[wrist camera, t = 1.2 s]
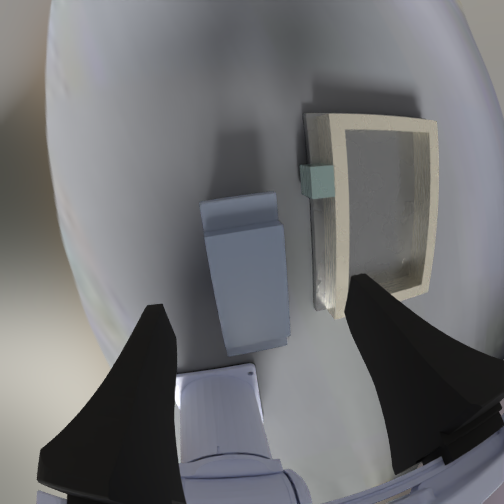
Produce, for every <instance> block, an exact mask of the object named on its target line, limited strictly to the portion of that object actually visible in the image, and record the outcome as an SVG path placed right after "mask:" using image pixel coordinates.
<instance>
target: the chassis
mask: <svg viewBox="0 0 504 504" xmlns="http://www.w3.org/2000/svg"><path fill="white" fill-rule="evenodd" d="M303 121H304V130H305V141H306V151H307V163H308V164H304V165H300V177H301V190H302V194H303V195H305V196H307V197H309V198H310V205H311V223H312V245H313V278H314V308H315V310H316V311H320V310H324V309H327V310H328V311H329V313H330V314H331V315H332V317H333V318H334V319H335V320H336V319H340V318H344V317H346V316H345V313H344V310H345V305H346V300H347V295H348V290H349V285H350V279H351V276H353V275H358V274H364V273H365V274H367V275H368V276H369V277H370V278H372V279H373V280H374V281H375V282H377V283H378V284H379V285H380V286H381V287H383V288H384V289H385V290H386V291H388V292H389V293H390V294H391V295H392V296H394V297H395V298H396V299H397V300H399V301H402V300H406V299H409V298H412V297H415V296H418V295H421V294H424V293H427V292H428V288H429V283H430V277H431V270H432V263H433V256H434V247H435V238H436V227H437V214H438V194H439V151H438V131H437V121H433V120H426V119H423V118H414V117H405V116H394V115H380V114H361V113H305V114H303Z"/></svg>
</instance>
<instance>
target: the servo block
mask: <svg viewBox="0 0 504 504" xmlns="http://www.w3.org/2000/svg"><path fill="white" fill-rule="evenodd" d="M199 205H200V212H201V218H202V224H203V230H204V240H205V245H206V251H207V257H208V262H209V268H210V273H211V279H212V284H213V289H214V294H215V299H216V304H217V309H218V314H219V319H220V324H221V329H222V334H223V339H224V343H225V348H226V350H227V355H228V357H229V356H235V355H241V354H246V353H251V352H257V351H262V350H267V349H271V348H276V347H281V346H285V345H287V337H288V336H290V317H289V299H288V283H287V268H286V254H285V240H284V228H283V224H282V223H281V222H280V221H279V220H278V209H277V198H276V193H275V192H274V191H269V192H261V193H254V194H247V195H240V196H233V197H226V198H220V199H213V200H207V201H201V202H199Z"/></svg>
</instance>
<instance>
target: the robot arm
mask: <svg viewBox="0 0 504 504" xmlns="http://www.w3.org/2000/svg"><path fill="white" fill-rule="evenodd" d="M344 313H345V316H346V320H347V323H348V326H349V329H350V332H351V334H352V336H353V339H354V341H355V343H356V345H357V347H358V349H359V351H360V354H361V356H362V358H363V360H364V362H365V364H366V366H367V369H368V371H369V373H370V375H371V377H372V380H373V382H374V385H375V388H376V391H377V394H378V398H379V401H380V404H381V408H382V412H383V416H384V420H385V424H386V429H387V433H388V438H389V444H390V451H391V458H392V467H393V470H394V473H395V475H397V474H400V473H402V472H404V471H406V470H408V469H411V468H413V467H415V466H417V465H419V464H421V463H423V466H422V467H420V468H418V469H416V470H414V471H411V472H409V473H407V474H405V475H403V476H401V477H398V478H396V479H394V480H391V481H389V482H386V483H384V484H381V485H379V486H376V487H373V488H371V489H368V490H365V491H362V492H359V493H356V494H353V495H350V496H347V497H344V498H340V499H337V500H333V501H330V502H326V503H322V504H374V503H377V502H380V501H382V500H385V499H387V498H390V497H392V496H394V495H396V494H399V493H401V492H403V491H405V490H408V489H410V488H412V487H413V488H412V489H411V492H410V494H408V495H404V496H402V497H399V498H397V499H394V500H392V501H389V502H387V503H385V504H482V503H483V502H484V501H485V500H486V499H487V498H488V497H489V496H490V495H491V494H492V493H493V492H494V491H495V490H496V489H497V488H498V487H499V486H500V485H501V484H502V483H503V482H504V414H503V415H500V413H499V411H500V410H501V409H502V406H501V404H500V401H501V400H502V399H503V398H504V360H501V359H498V358H495V357H492V356H489V355H487V354H484V353H482V352H479V351H477V350H475V349H473V348H471V347H468V346H466V345H465V344H463V343H461V342H459V341H457V340H455V339H453V338H451V337H450V336H448V335H446V334H445V333H443V332H442V331H440V330H438V329H437V328H435V327H434V326H432V325H431V324H429V323H428V322H426V321H425V320H423V319H422V318H421V317H419V316H418V315H417V314H415V313H414V312H413V311H411V310H410V309H409V308H407V307H406V306H405V305H404V304H402V303H401V302H400V301H399V300H397V299H396V298H395V297H394V296H392V295H391V294H390V293H389V292H388V291H386V290H385V289H384V288H383V287H381V286H380V285H379V284H378V283H377V282H375V281H374V280H373V279H372V278H370V277H369V276H368V275H367V274H365V273H364V274H358V275H353V276H351V279H350V285H349V290H348V295H347V300H346V305H345V310H344ZM248 372H251V373H248ZM176 373H177V342H176V336H175V334H174V331H173V329H172V326H171V324H170V322H169V319H168V317H167V314H166V312H165V309H164V307H163V304H155V305H147V306H146V308H145V310H144V311H143V313H142V315H141V317H140V319H139V321H138V323H137V325H136V327H135V328H134V330H133V332H132V334H131V336H130V338H129V340H128V341H127V343H126V345H125V347H124V348H123V350H122V352H121V354H120V355H119V357H118V359H117V360H116V362H115V364H114V365H113V367H112V369H111V370H110V372H109V374H108V375H107V377H106V378H105V379H104V381H103V383H102V384H101V385H100V387H99V388H98V389H97V391H96V392H95V393H94V395H93V396H92V397H91V399H90V400H89V401H88V402H87V404H86V405H85V406H84V407H83V409H82V410H81V411H80V412H79V413H78V414H77V416H76V417H75V418H74V419H73V420H72V421H71V422H70V423H69V424H68V425H67V426H66V427H65V428H64V429H63V430H62V431H61V432H60V433H59V434H58V435H57V436H56V437H55V438H53V439H52V440H51V441H50V442H49V443H48V444H47V445H45V446H44V447H43V448H42V449H41V450H40V457H39V463H38V472H37V480H38V482H39V483H41V484H43V485H45V486H48V487H50V488H52V489H55V490H58V491H60V492H63V493H66V494H67V499H64V498H60V497H57V496H54V495H51V494H48V493H45V492H42V491H39V490H38V491H37V504H312V499H311V495H310V492H309V489H308V487H307V485H306V483H305V481H304V480H303V479H302V477H301V476H299V475H298V474H297V473H296V472H294V471H293V470H291V469H285V470H283V468H282V465H281V461H280V459H272V455H271V452H270V448H269V444H268V441H267V437H266V433H265V430H264V426H263V422H264V421H263V414H262V408H261V401H260V395H259V388H258V382H257V375H256V369H255V365H254V364H252V363H247V364H242V365H237V366H231V367H225V368H219V369H212V370H206V371H199V372H191V373H184V374H176ZM175 401H176V403H177V405H178V407H179V409H180V446H181V463H178V455H177V447H176V437H175V424H174V405H175Z"/></svg>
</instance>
